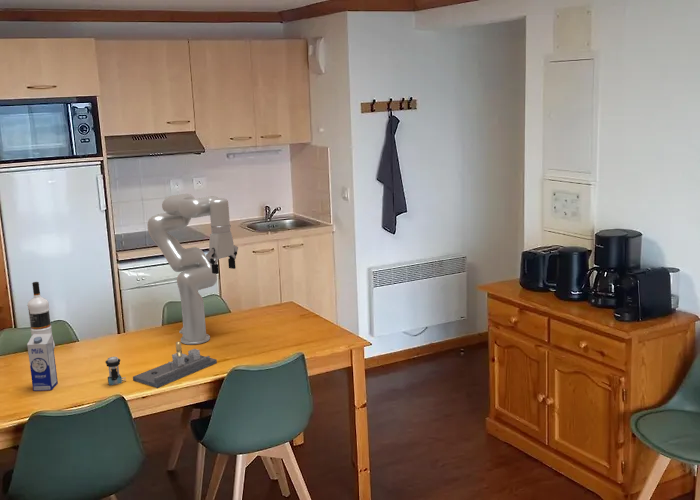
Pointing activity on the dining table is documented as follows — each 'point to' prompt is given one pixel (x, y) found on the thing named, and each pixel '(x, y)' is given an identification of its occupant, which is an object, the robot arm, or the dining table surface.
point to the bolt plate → (175, 370)
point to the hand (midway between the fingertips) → (223, 270)
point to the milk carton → (42, 362)
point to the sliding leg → (178, 357)
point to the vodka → (39, 313)
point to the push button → (114, 371)
